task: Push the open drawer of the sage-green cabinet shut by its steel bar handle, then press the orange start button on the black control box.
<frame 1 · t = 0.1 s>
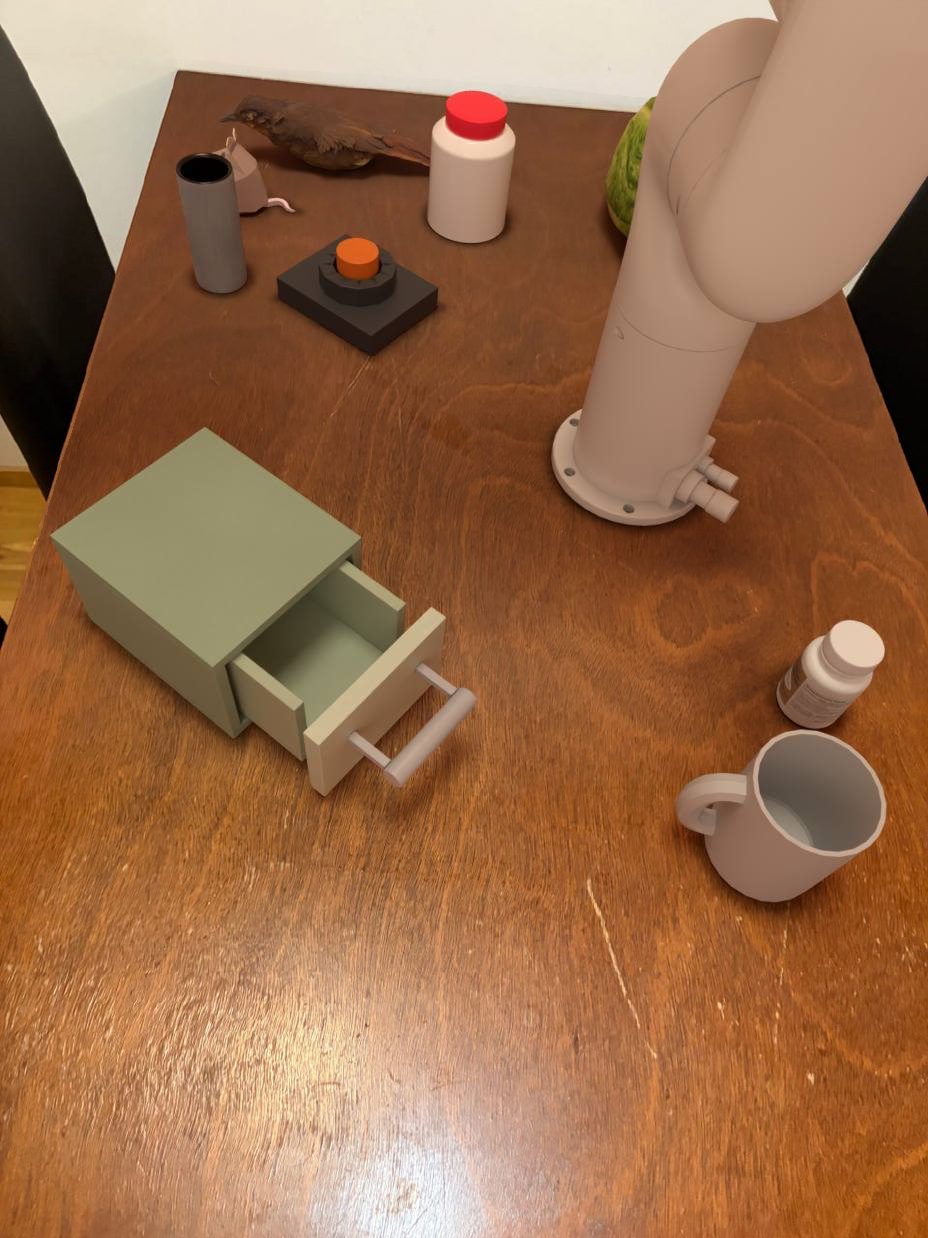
mouse figurine: (255, 206, 87), on the table
control box: (358, 303, 80), on the table
pill bottle 2: (804, 702, 61), on the table
bird sculpture: (344, 166, 92), on the table
button: (357, 259, 76), point 4 cm above the table, slide at 0.1 cm
cabinet: (228, 619, 61), on the table
cup: (735, 842, 55), on the table
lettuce: (672, 227, 91), on the table
drawer: (333, 668, 54), point 5 cm above the table, slide at 6.0 cm
pill bottle: (465, 221, 88), on the table
gray hollow cylinder: (222, 279, 80), on the table
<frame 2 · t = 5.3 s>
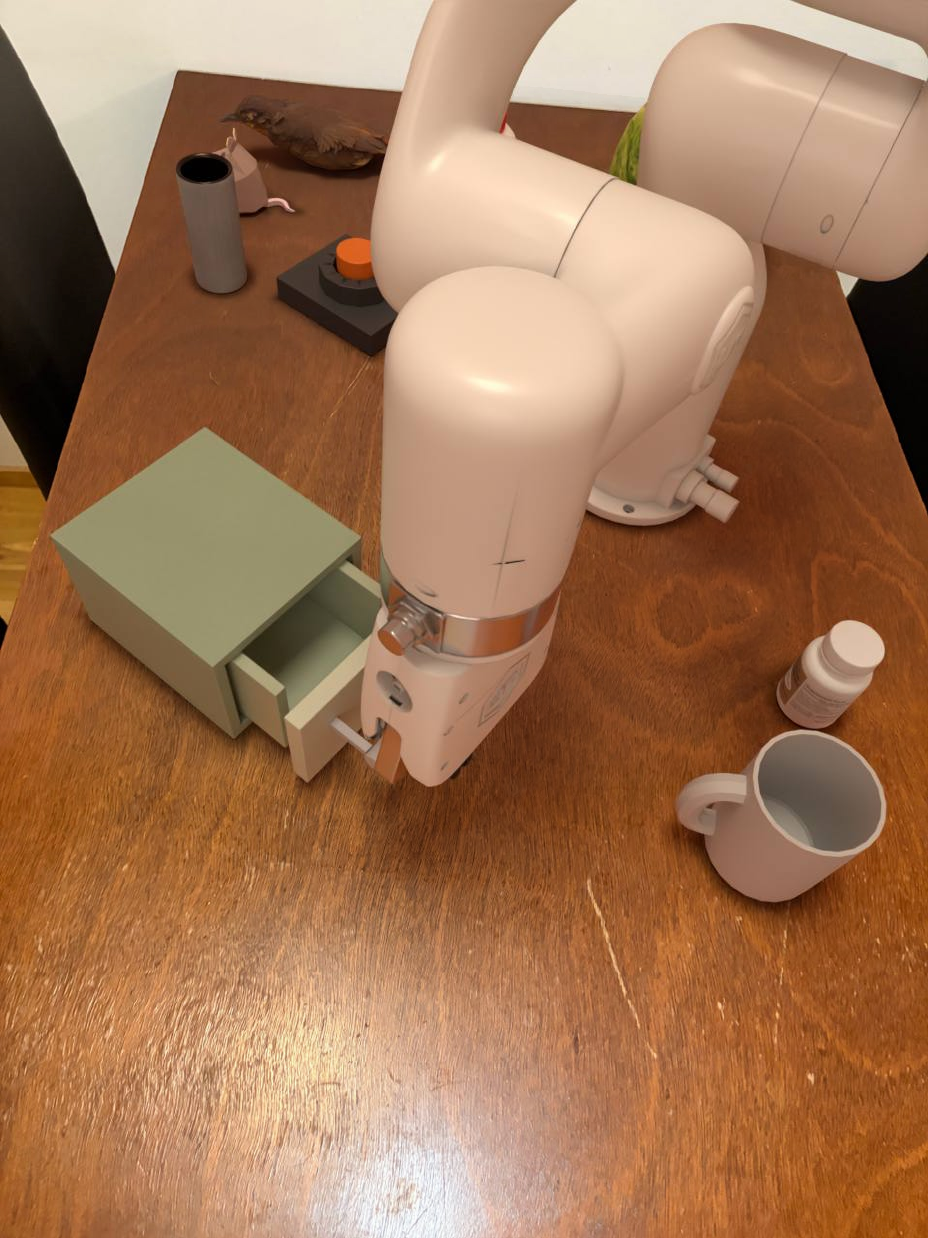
hand: (441, 755, 52), 4 cm above the table, tool pointing down, fingers closed
drawer: (316, 655, 54), point 5 cm above the table, slide at 4.6 cm, touching gripper
everything else where it was.
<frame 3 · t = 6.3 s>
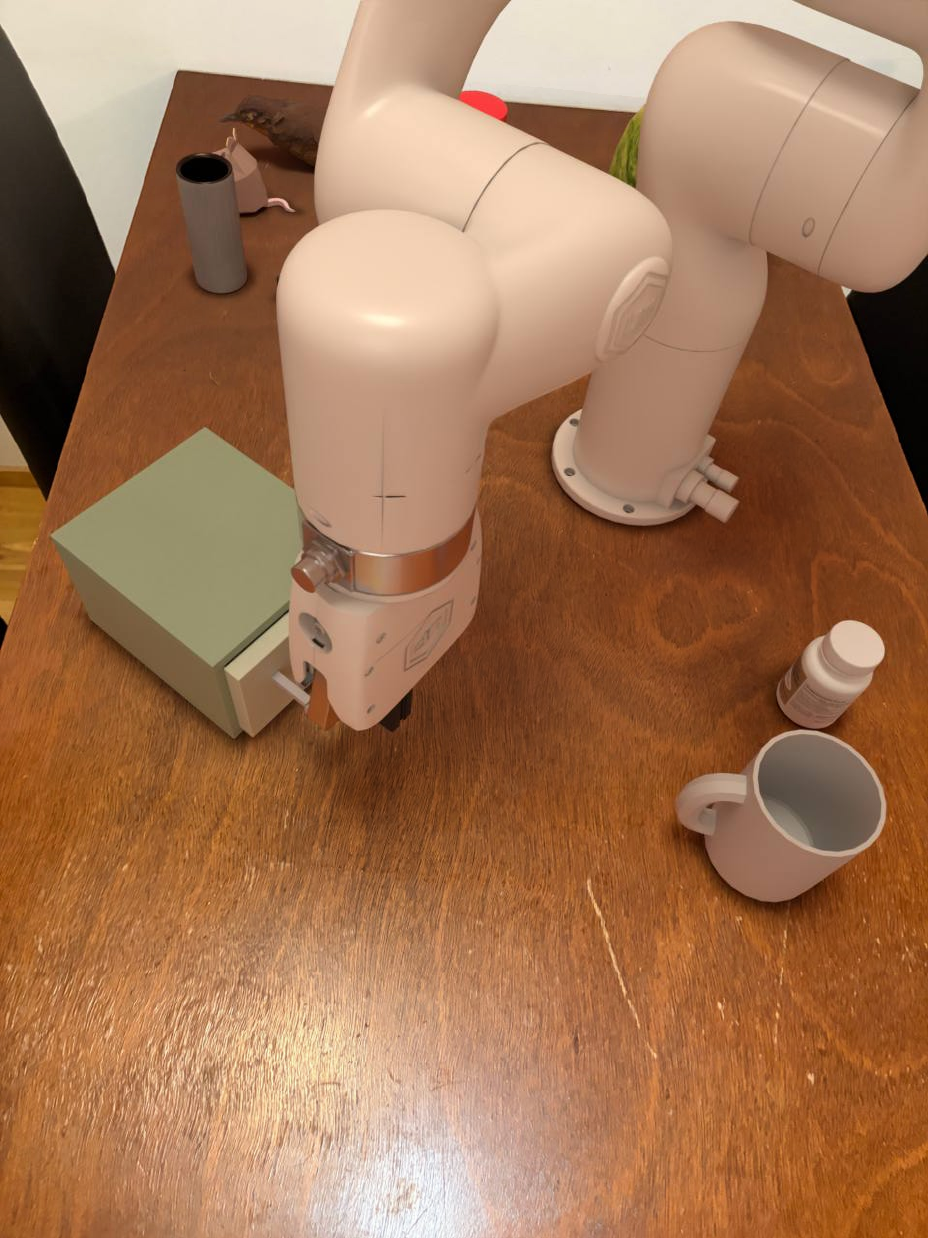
hand: (381, 709, 53), 4 cm above the table, tool pointing down, fingers closed
drawer: (262, 613, 56), point 5 cm above the table, slide at 0.0 cm, touching cabinet, gripper
everything else where it was.
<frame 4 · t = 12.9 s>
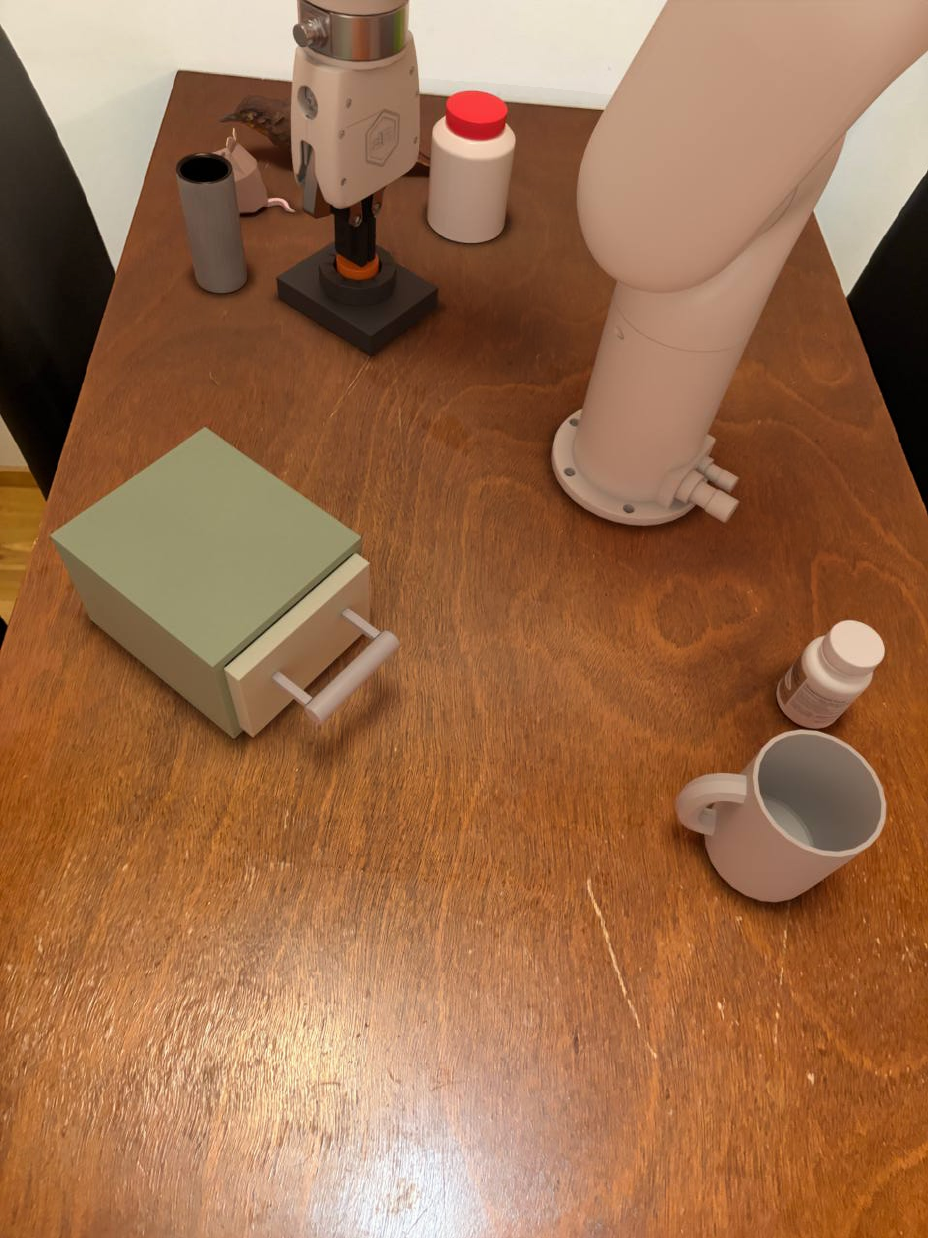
hand: (355, 255, 76), 5 cm above the table, tool pointing down, fingers closed
button: (357, 266, 77), point 4 cm above the table, slide at -0.7 cm, touching gripper
drawer: (262, 613, 56), point 5 cm above the table, slide at 0.0 cm, touching cabinet
everything else where it was.
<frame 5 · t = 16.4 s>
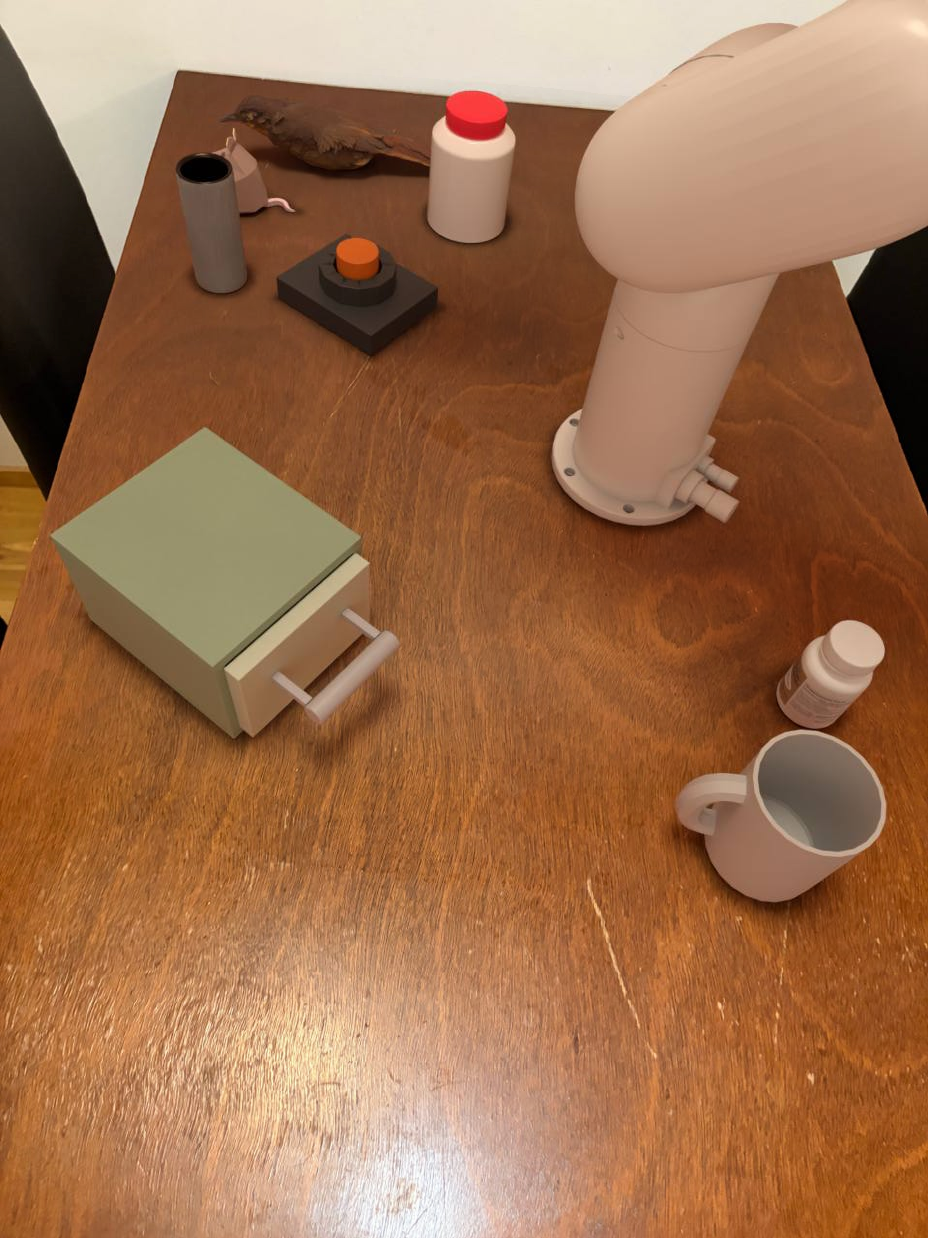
button: (357, 259, 76), point 4 cm above the table, slide at 0.1 cm
everything else where it was.
at the end: drawer slide at 0.0 cm; button pushed in 1.1 cm at the most during the clip, back to where it started at the end; button slide at 0.1 cm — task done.
